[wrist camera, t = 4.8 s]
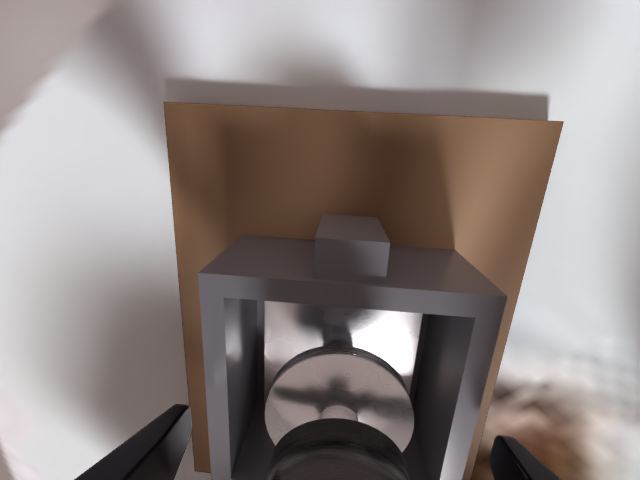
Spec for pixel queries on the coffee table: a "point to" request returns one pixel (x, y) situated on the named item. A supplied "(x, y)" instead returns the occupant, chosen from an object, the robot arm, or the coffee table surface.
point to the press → (353, 292)
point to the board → (352, 197)
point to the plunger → (338, 391)
